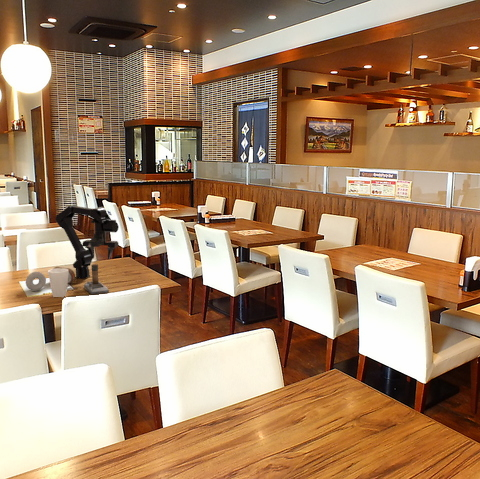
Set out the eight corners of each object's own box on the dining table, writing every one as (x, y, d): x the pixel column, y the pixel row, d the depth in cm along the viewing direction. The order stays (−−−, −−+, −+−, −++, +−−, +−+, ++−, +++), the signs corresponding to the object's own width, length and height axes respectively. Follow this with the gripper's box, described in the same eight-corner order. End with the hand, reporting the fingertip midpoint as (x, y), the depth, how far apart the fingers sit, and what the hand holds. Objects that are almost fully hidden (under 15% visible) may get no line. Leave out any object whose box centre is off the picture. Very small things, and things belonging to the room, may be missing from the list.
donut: (27, 293, 242) (26, 273, 240) (25, 291, 244) (23, 272, 243) (47, 289, 249) (46, 270, 247) (45, 288, 251) (43, 269, 249)
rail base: (83, 287, 253) (82, 282, 253) (101, 285, 258) (101, 280, 258) (90, 294, 241) (90, 289, 241) (109, 292, 246) (109, 286, 246)
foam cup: (71, 293, 244) (70, 267, 241) (67, 298, 235) (66, 272, 232) (51, 293, 242) (50, 268, 240) (47, 299, 233) (45, 272, 231)
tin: (76, 283, 261) (75, 268, 260) (72, 285, 258) (71, 269, 257) (53, 280, 266) (52, 266, 265) (49, 282, 263) (48, 267, 262)
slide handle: (89, 286, 251) (88, 264, 249) (99, 284, 254) (98, 263, 252) (91, 288, 247) (91, 266, 245) (101, 287, 250) (100, 265, 248)
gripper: (77, 232, 258) (78, 261, 261) (110, 234, 255) (111, 262, 258) (86, 229, 269) (87, 257, 272) (118, 231, 266) (119, 258, 269)
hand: (101, 259), depth 267 cm, fingers open, 9 cm apart
